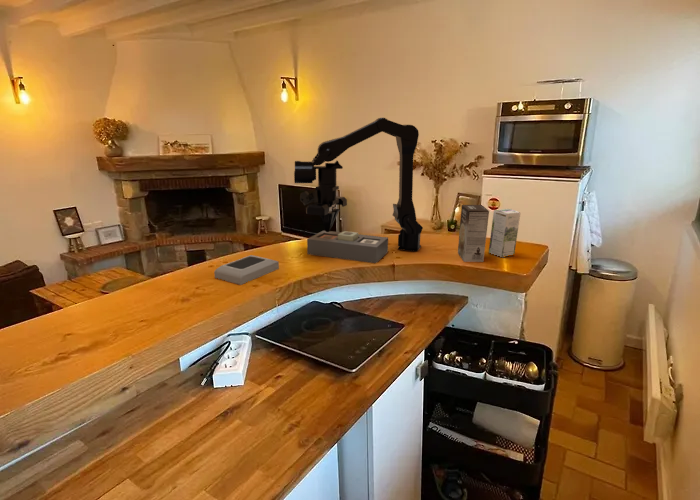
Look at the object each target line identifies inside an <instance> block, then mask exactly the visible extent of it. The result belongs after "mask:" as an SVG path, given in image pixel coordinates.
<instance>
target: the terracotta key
mask: <svg viewBox="0 0 700 500" xmlns="http://www.w3.org/2000/svg"><path fill="white" fill-rule="evenodd" d="M336 237H337V236H332V235H323V236H321V237H319V238H327V239H334V238H336Z"/></svg>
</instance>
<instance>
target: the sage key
mask: <svg viewBox="0 0 700 500" xmlns="http://www.w3.org/2000/svg"><path fill="white" fill-rule="evenodd" d="M341 232H342V233H340V234H338V240H344V241H353V242H354V241H355V240H357V239H358V234H359V232H358V231H357V232H355V231H347V230H346V231H345V230H343V231H341Z"/></svg>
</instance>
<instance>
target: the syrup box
mask: <svg viewBox="0 0 700 500" xmlns="http://www.w3.org/2000/svg"><path fill="white" fill-rule="evenodd" d="M520 217H521V212H520V211H518V210H515V209H512V208H503V209H494V210H493V214H492V221H491V230H490V239H489V247H488V254H490V253H491V255H492V254H494V255H493V256H495V255H497V256H496V257H498V256H500V257H499V258H501V257H502V258H505V257H504V256H508V255H513V254H514V255H515V253H516V245H517V239H518V233H519V225H520Z"/></svg>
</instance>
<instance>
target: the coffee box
mask: <svg viewBox="0 0 700 500" xmlns="http://www.w3.org/2000/svg"><path fill="white" fill-rule="evenodd" d="M489 215H490V210H489V209H487V208H486V207H485V206H483V205H482V204H462V205H461V212H460V223H459V232H458V234H459V235H458V245H457V254H458V256H459V257H460V258H461V259H462V261H463V263H465V262H466V263H467V262H469V263H472V262H473V263H483V262H484V259H485V253H486V252H485V250H486V240H487V235H488V234H487V233H488V225H489Z"/></svg>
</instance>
